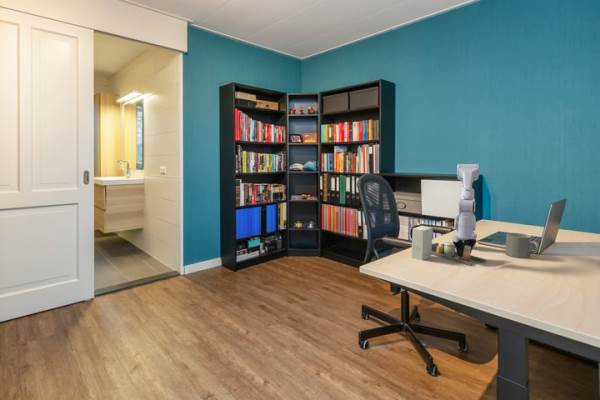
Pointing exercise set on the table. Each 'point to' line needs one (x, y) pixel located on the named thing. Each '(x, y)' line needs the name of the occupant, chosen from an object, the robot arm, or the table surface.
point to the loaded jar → (449, 249)
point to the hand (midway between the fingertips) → (463, 255)
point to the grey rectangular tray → (471, 262)
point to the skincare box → (421, 243)
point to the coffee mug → (520, 245)
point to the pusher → (440, 249)
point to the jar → (466, 253)
